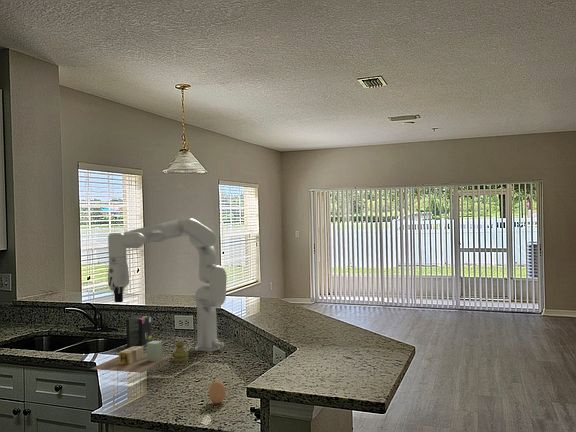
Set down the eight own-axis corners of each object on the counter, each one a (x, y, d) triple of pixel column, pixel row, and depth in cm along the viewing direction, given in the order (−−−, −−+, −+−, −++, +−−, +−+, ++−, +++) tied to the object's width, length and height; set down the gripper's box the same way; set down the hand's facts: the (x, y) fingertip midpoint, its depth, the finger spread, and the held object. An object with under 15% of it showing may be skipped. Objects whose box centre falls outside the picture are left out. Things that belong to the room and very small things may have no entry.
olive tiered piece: (184, 365, 239) (184, 343, 239) (169, 364, 240) (169, 342, 240) (191, 361, 246) (190, 339, 246) (176, 360, 247) (175, 338, 248)
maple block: (128, 364, 238) (143, 357, 249) (128, 352, 238) (143, 346, 249) (118, 363, 239) (134, 356, 251) (118, 352, 239) (134, 346, 251)
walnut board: (175, 358, 251) (175, 356, 251) (142, 375, 224) (142, 372, 224) (127, 355, 258) (127, 352, 258) (89, 371, 231) (89, 368, 231)
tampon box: (142, 348, 273) (142, 319, 273) (126, 347, 275) (125, 319, 275) (152, 343, 284) (151, 315, 284) (136, 342, 285) (135, 315, 285)
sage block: (162, 358, 246) (162, 341, 246) (156, 361, 242) (156, 343, 242) (152, 357, 248) (152, 340, 248) (147, 360, 243) (146, 343, 243)
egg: (226, 400, 192) (226, 377, 192) (225, 405, 186) (224, 383, 186) (209, 400, 191) (209, 378, 192) (207, 406, 185) (207, 383, 186)
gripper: (115, 262, 229) (116, 305, 229) (134, 259, 243) (135, 299, 243) (100, 262, 231) (101, 304, 231) (120, 259, 245) (121, 299, 245)
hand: (118, 302), depth 237 cm, fingers closed
